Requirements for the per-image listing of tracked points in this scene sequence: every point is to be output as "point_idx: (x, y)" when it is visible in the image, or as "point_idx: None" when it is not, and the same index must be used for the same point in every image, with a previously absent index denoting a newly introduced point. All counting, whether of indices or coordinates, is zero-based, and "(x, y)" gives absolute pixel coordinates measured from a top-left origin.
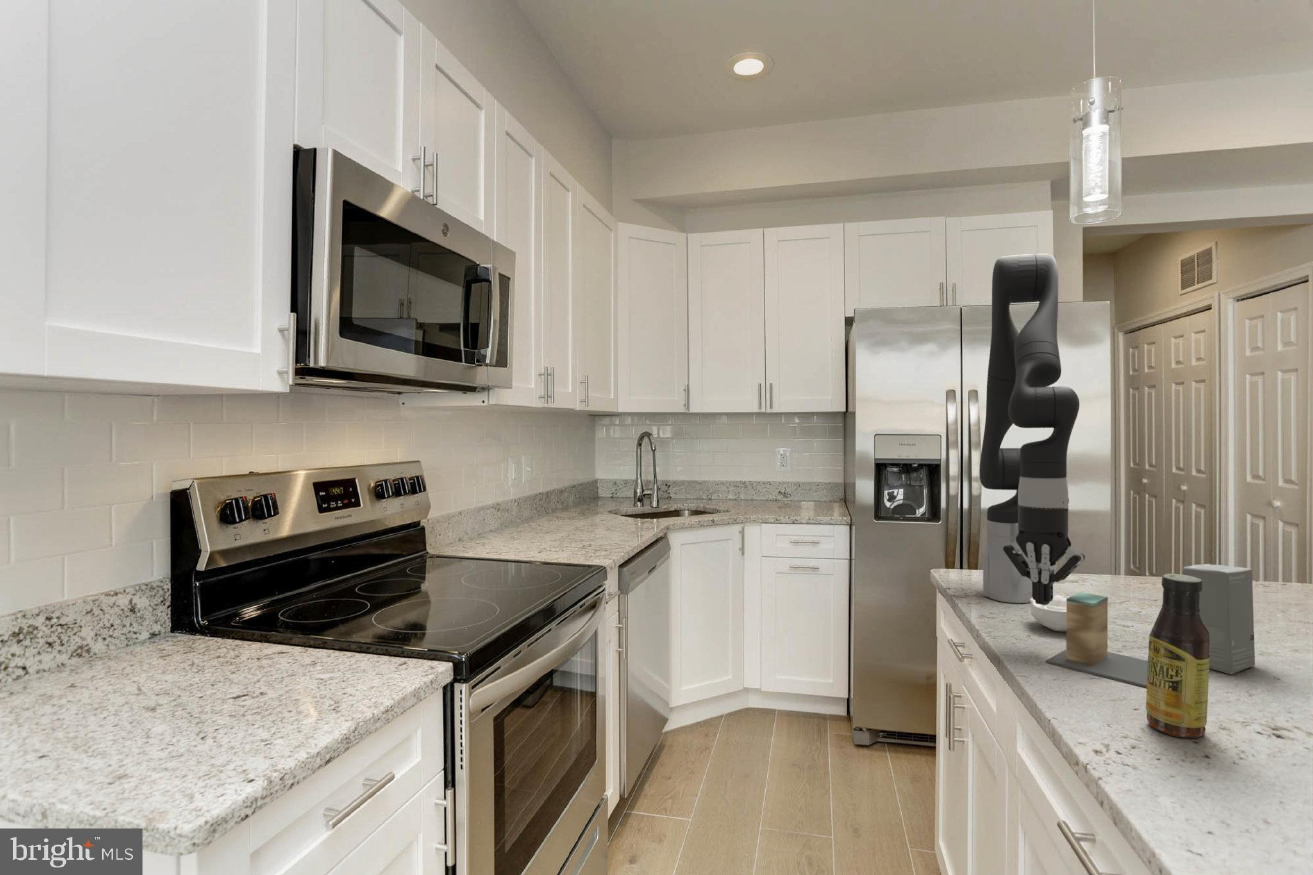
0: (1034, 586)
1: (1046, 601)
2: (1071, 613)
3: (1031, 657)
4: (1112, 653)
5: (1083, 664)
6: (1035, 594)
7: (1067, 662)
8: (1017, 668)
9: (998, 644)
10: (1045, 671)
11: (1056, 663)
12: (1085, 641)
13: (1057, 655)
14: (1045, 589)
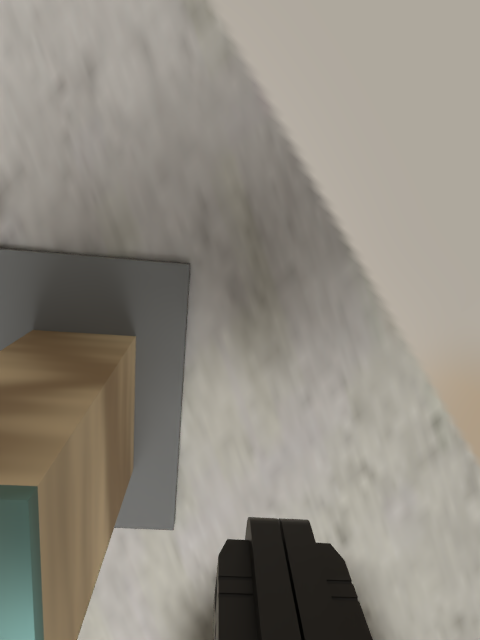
0: (351, 637)
1: (239, 541)
2: (37, 430)
3: (253, 288)
4: None
5: (65, 316)
6: (320, 563)
7: (118, 297)
8: (250, 99)
9: (402, 358)
10: (153, 148)
11: (147, 260)
12: (23, 362)
13: (175, 355)
14: (253, 625)
